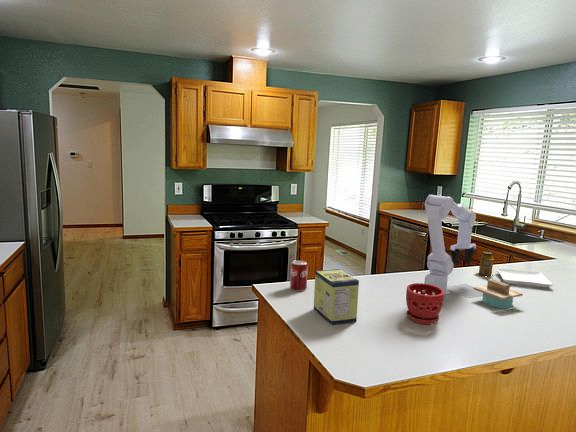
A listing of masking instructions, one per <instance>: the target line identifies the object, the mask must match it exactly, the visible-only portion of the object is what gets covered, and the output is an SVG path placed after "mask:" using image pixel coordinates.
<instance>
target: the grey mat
mask: <svg viewBox="0 0 576 432" xmlns="http://www.w3.org/2000/svg"><path fill="white" fill-rule="evenodd" d="M474 287H475V286H472V285H469V284H468V283H461V284H457V285H449V286H448V285H447V290H448V291H450V292H453V293H455V294H457V295H460V296H462V297H466V298H467V299H472V298H479V297H483V293H482V292H480V291H477V290H474ZM447 290H446V291H447Z"/></svg>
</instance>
